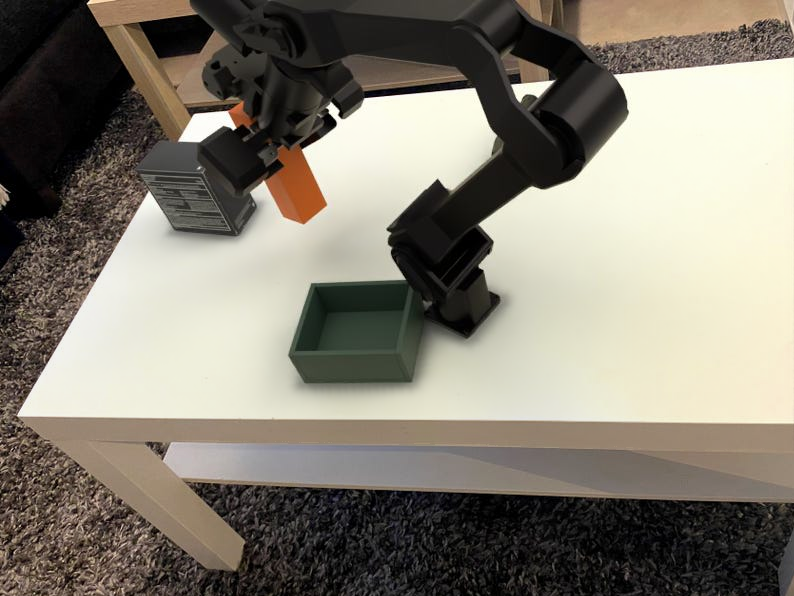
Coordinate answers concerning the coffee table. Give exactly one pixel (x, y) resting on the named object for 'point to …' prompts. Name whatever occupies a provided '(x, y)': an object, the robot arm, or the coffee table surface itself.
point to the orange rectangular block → (289, 179)
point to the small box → (191, 191)
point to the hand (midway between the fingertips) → (274, 162)
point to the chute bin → (358, 332)
